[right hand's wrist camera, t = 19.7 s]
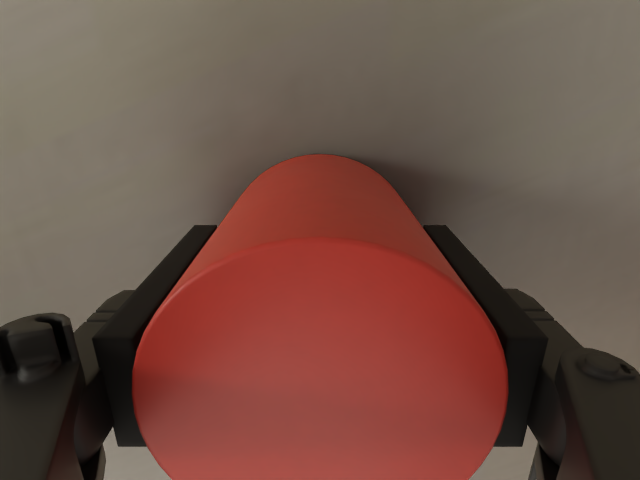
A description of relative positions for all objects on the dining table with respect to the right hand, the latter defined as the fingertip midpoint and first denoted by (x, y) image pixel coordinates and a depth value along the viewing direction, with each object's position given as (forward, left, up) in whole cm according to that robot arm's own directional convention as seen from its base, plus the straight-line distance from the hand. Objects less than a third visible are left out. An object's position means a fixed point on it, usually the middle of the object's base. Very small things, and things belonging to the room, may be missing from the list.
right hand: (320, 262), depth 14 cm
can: (0, 0, -1) cm, 1 cm away
